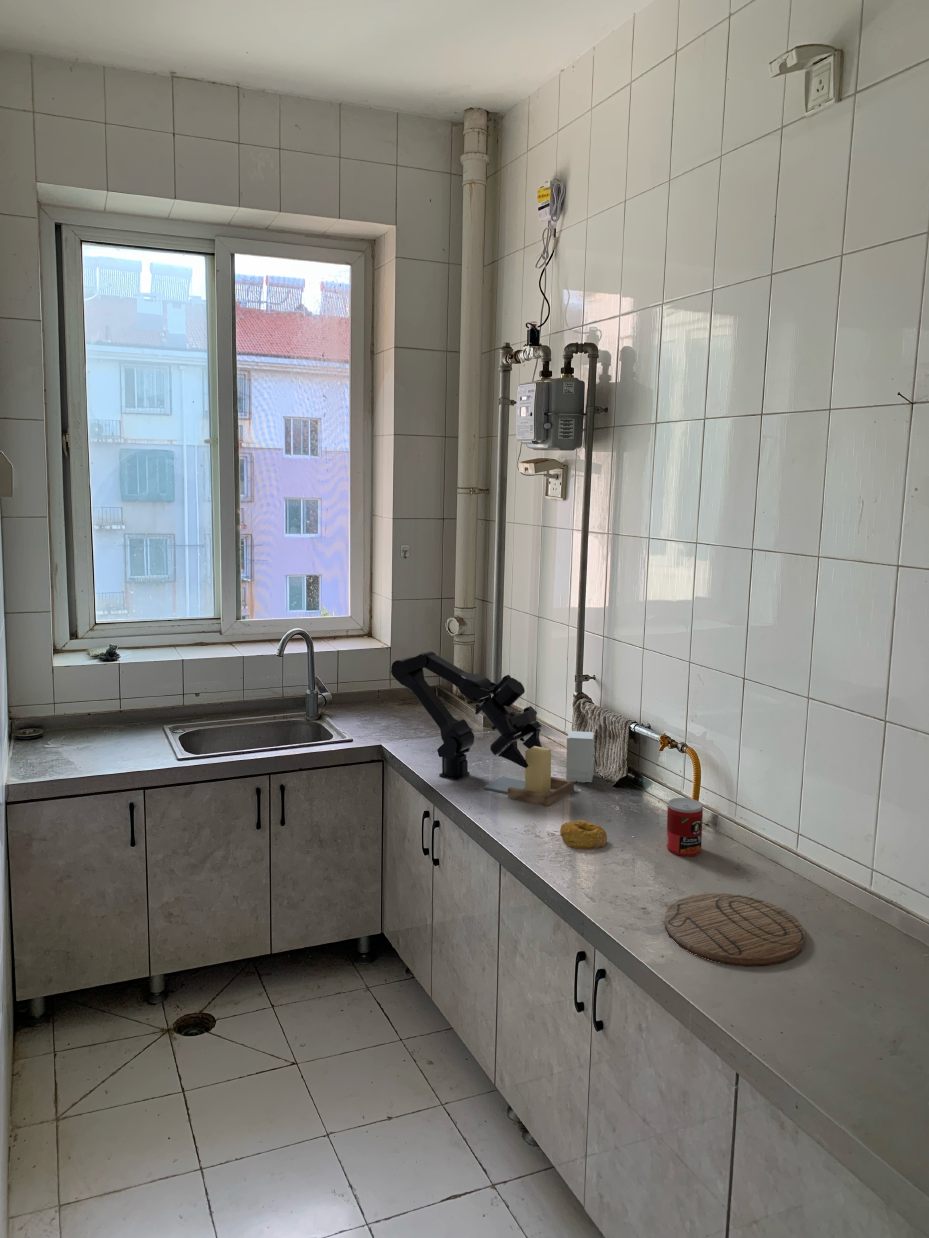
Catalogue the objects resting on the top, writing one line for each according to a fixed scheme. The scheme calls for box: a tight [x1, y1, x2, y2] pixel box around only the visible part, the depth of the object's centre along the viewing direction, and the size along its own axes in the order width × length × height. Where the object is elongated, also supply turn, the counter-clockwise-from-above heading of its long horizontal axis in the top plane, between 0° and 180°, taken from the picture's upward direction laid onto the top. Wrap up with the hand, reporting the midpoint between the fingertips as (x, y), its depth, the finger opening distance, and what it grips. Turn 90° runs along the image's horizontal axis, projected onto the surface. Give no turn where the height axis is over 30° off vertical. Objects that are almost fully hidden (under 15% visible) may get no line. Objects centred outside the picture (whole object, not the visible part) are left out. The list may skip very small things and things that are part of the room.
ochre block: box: [524, 746, 552, 795], centre depth 245 cm, size 5×5×12 cm
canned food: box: [666, 797, 704, 857], centre depth 208 cm, size 8×8×11 cm
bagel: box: [559, 820, 608, 850], centre depth 213 cm, size 10×11×5 cm
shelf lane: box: [507, 776, 575, 807], centre depth 245 cm, size 12×14×2 cm
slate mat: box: [483, 776, 525, 795], centre depth 251 cm, size 10×10×1 cm
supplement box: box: [565, 730, 595, 783], centre depth 257 cm, size 7×7×13 cm
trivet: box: [664, 892, 806, 968], centre depth 172 cm, size 25×25×2 cm
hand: (535, 762), depth 245 cm, fingers open, 9 cm apart
